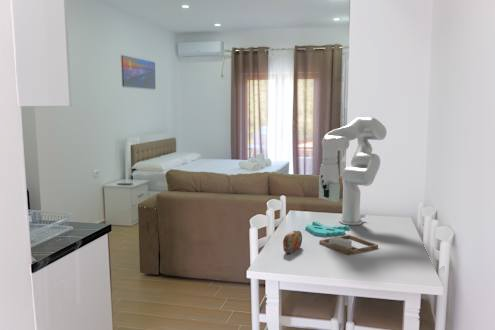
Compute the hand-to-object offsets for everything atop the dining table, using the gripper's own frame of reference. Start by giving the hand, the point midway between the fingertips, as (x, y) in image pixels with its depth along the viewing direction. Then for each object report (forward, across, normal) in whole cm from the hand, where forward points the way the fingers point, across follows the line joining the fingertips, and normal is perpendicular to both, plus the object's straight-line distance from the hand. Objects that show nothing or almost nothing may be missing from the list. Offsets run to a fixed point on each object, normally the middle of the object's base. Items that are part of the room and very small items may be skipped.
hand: (328, 196), depth 223 cm
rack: (+19, +8, +22) cm, 30 cm away
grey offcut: (+17, +13, +22) cm, 31 cm away
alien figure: (+20, 0, -2) cm, 20 cm away
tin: (+19, +35, +13) cm, 42 cm away
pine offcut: (+19, +13, +22) cm, 32 cm away
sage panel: (+2, 0, 0) cm, 2 cm away
